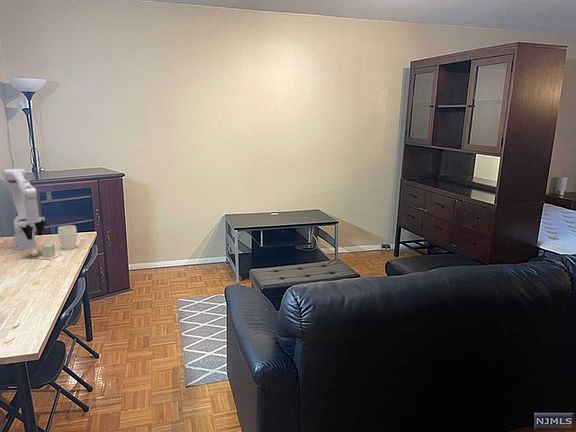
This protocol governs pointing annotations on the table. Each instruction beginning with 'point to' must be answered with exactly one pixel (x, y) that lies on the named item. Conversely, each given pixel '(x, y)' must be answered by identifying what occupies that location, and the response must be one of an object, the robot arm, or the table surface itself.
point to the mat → (40, 256)
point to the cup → (67, 236)
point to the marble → (34, 253)
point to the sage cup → (48, 250)
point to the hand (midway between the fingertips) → (35, 237)
